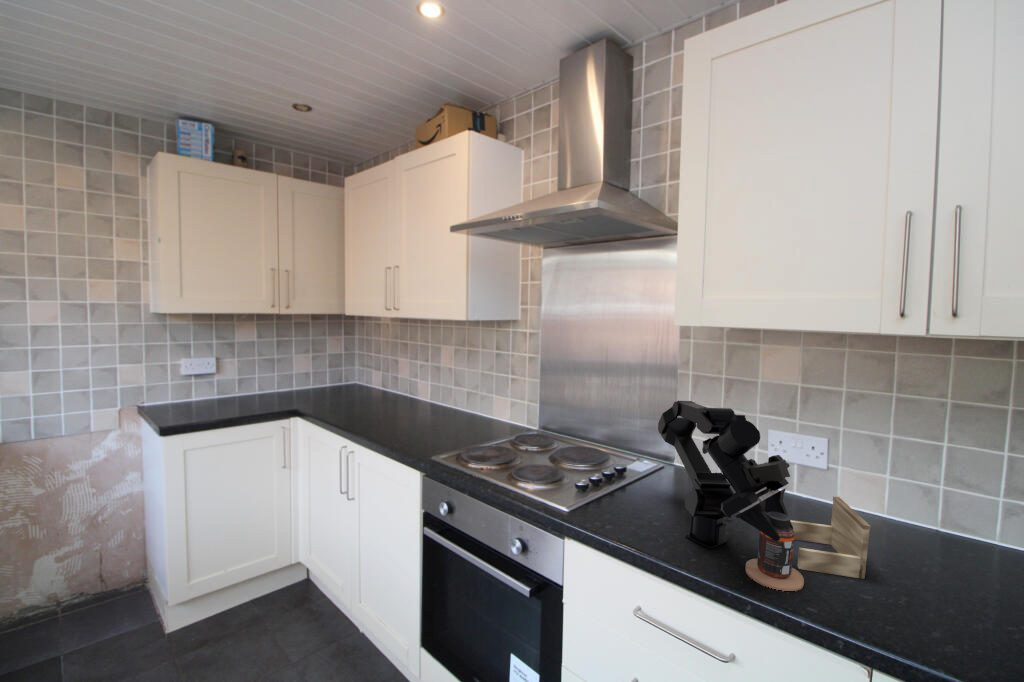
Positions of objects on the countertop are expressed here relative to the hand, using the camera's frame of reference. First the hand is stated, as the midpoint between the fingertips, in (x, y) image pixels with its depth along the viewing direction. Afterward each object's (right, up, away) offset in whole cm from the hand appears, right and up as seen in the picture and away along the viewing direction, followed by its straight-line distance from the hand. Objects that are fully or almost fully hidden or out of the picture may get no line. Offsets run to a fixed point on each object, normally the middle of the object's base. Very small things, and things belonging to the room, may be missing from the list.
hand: (784, 535), depth 93 cm
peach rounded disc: (-1, -9, +2) cm, 9 cm away
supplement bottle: (-1, -8, +2) cm, 8 cm away
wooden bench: (+13, -9, +11) cm, 19 cm away
